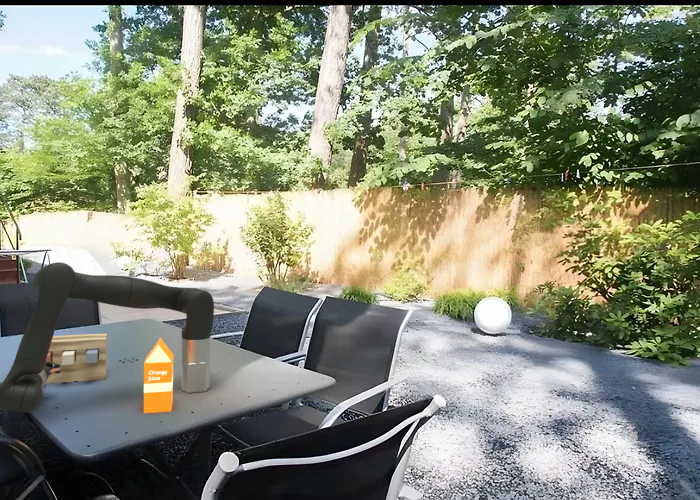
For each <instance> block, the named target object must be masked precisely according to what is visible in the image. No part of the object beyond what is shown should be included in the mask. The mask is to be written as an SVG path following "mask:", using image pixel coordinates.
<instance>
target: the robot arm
mask: <svg viewBox="0 0 700 500" xmlns="http://www.w3.org/2000/svg"><path fill="white" fill-rule="evenodd" d="M32 281H33V283H32V284H33V287H34V288H35V290H36V292H37V293H38V296H37V297H38V298H37V302H36V306H35V309H34V311H33V312H32V313H33V314H32V316H31V318H30V320H29V322H28V324H27V326H26V329H25V331H24V332H23V336H22V337H21V340H20V342H19V344H18V345H19V346H18V349H17V352H16V355H15V358H14V361H13V364H12V365H11V368H10V369H9V371H8V373H7V375H6V376H5V378H4V380H3V381H2V383H1V384H0V410H1V411H9V412H20V413H31V412H34V411H36V410H37V409H38V408H39V407H40V405H41V403H42V401H43V396H44V391H43V387H44V385H46V384H45V383H46V380H47V379H48V376H49V375H51V374H52V372H53V373H60V364H56V363H52V362H47V361H46V358H47V355H48V352H49V348H50V345H51V342H52V338H53V336H55V335H54V334H55V331H56V328H57V324H58V322H59V319H60V316H61V313H62V311H63V309H64V307H65V304H66V303H67V301H68V299H77V300H78V299H79V300H87V301H91V302H96V303H99V304H100V303H101V304H105V305H106V304H107V305H110V306H116V307H121V308H127V309H128V308H130V309H136V310H137V309H138V310H139V309H140V310H141V309H144V310H145V309H147V310H148V309H165V310H171V311H175V312H179V313H182V314H185V316H186V318H185V327H183V328H182V329H181V350H180V351H181V353H180V354H181V356H180V357H181V358H180V363H181V364H180V390H181V391H183V392H186V393H187V394H192V393H201V392H207V390H209V389H210V387H211V340H212V339H211V335H212V334H211V333H212V330H213V327H214V318H215V317H214V315H215V302H214V298H213V295H212V294H211V293H210V292H209V291H207V290H205V289H200V288H197V287H179V286H178V287H177V286H169V285H165V284H161V283H158V282H155V281H152V280H147V279H144V278H143V279H142V278H138V277H133V276H132V277H131V276H126V275H112V274H111V275H105V274H103V275H101V274H100V275H95V274H86V273H81V272H76V271H75V270H74V268H73V267H72V266H71V265H69V264H67V263H66V262H65V263H64V262H60V261H59V262H51V263H49V264H47V265H45V266H44V267H42V268H40V269H39V270H38V271H37V272H36V273H35V275H34V277H33V280H32Z"/></svg>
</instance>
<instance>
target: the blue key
mask: <svg viewBox="0 0 700 500" xmlns="http://www.w3.org/2000/svg"><path fill="white" fill-rule="evenodd" d="M98 357H99V348H96V349H88V350H87V353H86V363H97V360H98Z"/></svg>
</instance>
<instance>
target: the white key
mask: <svg viewBox="0 0 700 500" xmlns="http://www.w3.org/2000/svg"><path fill="white" fill-rule="evenodd" d="M75 359H76V350H65V351H64V353H63V355H62V365H70V364H74V361H75Z"/></svg>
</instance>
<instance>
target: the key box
mask: <svg viewBox="0 0 700 500" xmlns="http://www.w3.org/2000/svg"><path fill="white" fill-rule="evenodd" d="M96 348H99V357H98V360H97V363H86V353H87V350H88V349H96ZM65 350H76V359H75V361H74V364H70V365H62V355H63V353H64V351H65ZM49 351H52V361H51V362H52V363H56V364H60V373H53V372H52V374H51V375H49V376H48V379H47V380H46V383H45V384H44V385H51V384H50V383H55V384H60V383H59V382H67V383H75V382H74V381H79V382H87V381H89V382H90V380H91V381H99V380H100V381H101V380H103V381H104V380H106V379H107V372H108V332H105V333H86V334H85V333H84V334H65V335H53V338H52V342H51V345H50V348H49Z"/></svg>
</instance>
